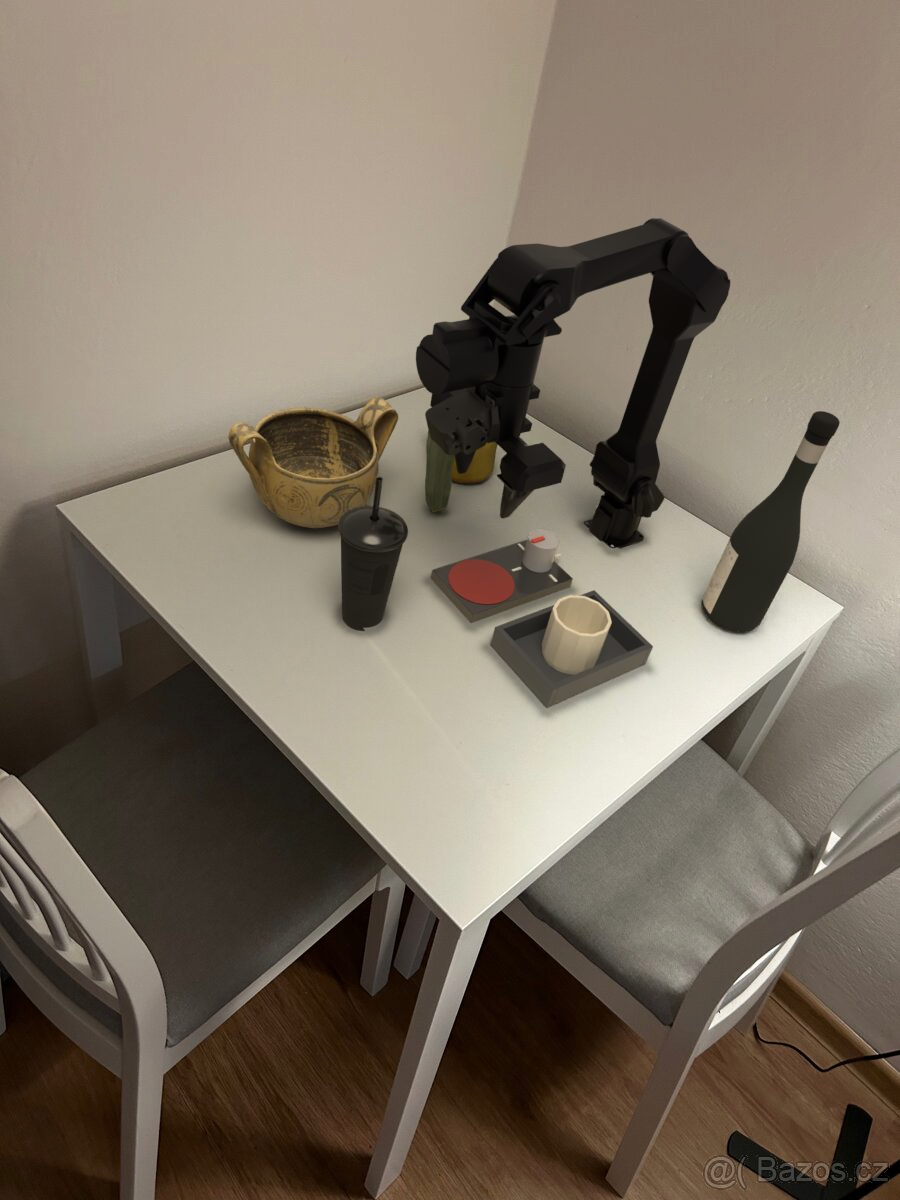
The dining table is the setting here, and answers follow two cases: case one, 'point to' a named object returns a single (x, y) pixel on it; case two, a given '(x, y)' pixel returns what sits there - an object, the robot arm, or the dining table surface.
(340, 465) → the ceramic bowl
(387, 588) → the drinking cup
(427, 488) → the vegetable
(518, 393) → the robot arm
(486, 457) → the mug
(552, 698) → the sink
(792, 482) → the wine bottle
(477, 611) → the hob
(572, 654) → the pot
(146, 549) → the dining table surface
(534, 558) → the knob
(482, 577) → the burner
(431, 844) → the dining table surface
